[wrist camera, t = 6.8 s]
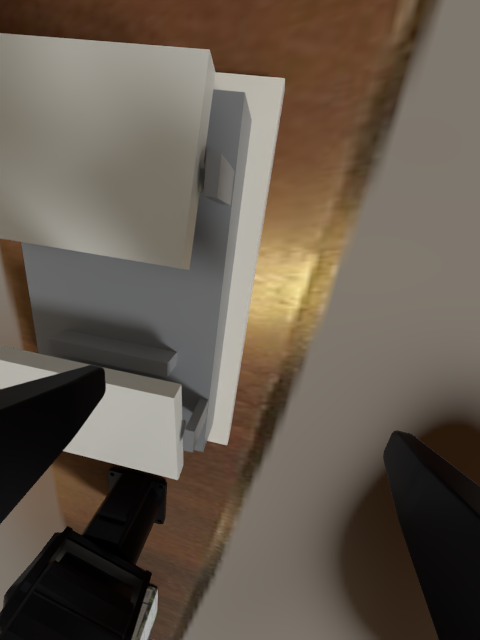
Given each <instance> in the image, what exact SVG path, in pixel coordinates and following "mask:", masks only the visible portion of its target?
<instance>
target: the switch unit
mask: <svg viewBox="0 0 480 640" xmlns="http://www.w3.org/2000/svg"><path fill="white" fill-rule="evenodd" d="M284 91H285V78H275V77H264V76H253V75H241V74H230V73H218V72H216V73H215V80H214V88H213V96H212V103H211V111H210V118H209V126H208V133H207V141H206V148H205V156H204V164H205V180H204V190H203V192H200V194H199V201H198V209H197V216H196V224H195V231H194V239H193V246H192V254H191V261H190V269H189V270H186V269H180V268H174V267H168V266H162V265H156V264H150V263H144V262H138V261H132V260H126V259H120V258H114V257H108V256H102V255H96V254H90V253H84V252H78V251H72V250H66V249H60V248H54V247H48V246H42V245H36V244H31V243H25V242H21V244H22V251H23V257H24V264H25V270H26V277H27V283H28V289H29V296H30V302H31V309H32V315H33V322H34V328H35V335H36V341H37V347H38V354H43V355H48V356H52V357H57V358H62V359H66V360H71V361H76V362H80V363H85V364H90V365H94V366H99V367H104V368H108V369H113V370H118V371H122V372H127V373H132V374H136V375H141V376H146V377H150V378H155V379H160V380H164V381H169V382H174V383H178V384H181V387H182V419H183V420H186V426H185V431H184V434H183V450H184V451H189V452H193V450H197V451H201V452H203V451H204V448H205V445H206V442H207V441H211V442H215V443H219V444H224V445H227V444H228V440H229V436H230V430H231V423H232V417H233V411H234V405H235V398H236V392H237V386H238V379H239V373H240V367H241V361H242V354H243V348H244V342H245V336H246V329H247V323H248V317H249V310H250V304H251V298H252V292H253V285H254V279H255V273H256V267H257V260H258V254H259V248H260V242H261V235H262V229H263V223H264V216H265V210H266V204H267V198H268V191H269V185H270V179H271V173H272V166H273V160H274V154H275V147H276V141H277V135H278V129H279V122H280V116H281V110H282V104H283V97H284Z"/></svg>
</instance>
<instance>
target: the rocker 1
mask: <svg viewBox="0 0 480 640" xmlns="http://www.w3.org/2000/svg"><path fill="white" fill-rule="evenodd" d="M215 73H216V72H215V68H214V65H213V61H212V57H211V53H210V50H208V49H195V48H182V47H170V46H157V45H144V44H132V43H119V42H106V41H93V40H81V39H68V38H55V37H43V36H30V35H17V34H4V33H0V238H1V239H7V240H13V241H19V242H25V243H31V244H36V245H42V246H48V247H54V248H60V249H66V250H72V251H78V252H84V253H90V254H96V255H102V256H108V257H114V258H120V259H126V260H132V261H138V262H144V263H150V264H156V265H162V266H168V267H174V268H180V269H186V270H189V269H190V261H191V254H192V246H193V239H194V231H195V224H196V216H197V209H198V201H199V194H200V192H203V190H204V180H205V164H204V156H205V148H206V141H207V133H208V126H209V118H210V111H211V103H212V96H213V88H214V80H215Z"/></svg>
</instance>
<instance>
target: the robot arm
mask: <svg viewBox="0 0 480 640" xmlns="http://www.w3.org/2000/svg"><path fill="white" fill-rule="evenodd" d="M105 391H106V381H105V370H104V368H102V367H99V366H94V365H88V366H85V367H81V368H77V369H74V370H70V371H66V372H63V373H59V374H55V375H51V376H48V377H44V378H40V379H37V380H33V381H29V382H26V383H22V384H18V385H14V386H11V387H7V388H3V389H0V523H2V521H3V520H4V519H5V518H6V517H7V516H8V514H9V513H10V512H11V511H12V510H13V508H14V507H15V506H16V505H17V504H18V503H19V502H20V500H21V499H22V498H23V497H24V496H25V495H26V493H27V492H28V491H29V490H30V489H31V488H32V486H33V485H34V484H35V483H36V482H37V481H38V479H39V478H40V477H41V476H42V475H43V474H44V472H45V471H46V470H47V469H48V468H49V467H50V465H51V464H52V463H53V462H54V461H55V460H56V458H57V457H58V456H59V455H60V454H61V453H62V451H63V450H64V449H65V448H66V447H67V446H68V444H69V443H70V442H71V441H72V439H73V438H74V437H75V436H76V434H77V433H78V432H79V430H80V429H81V427H82V426H83V425H84V423H85V422H86V420H87V419H88V418H89V416H90V415H91V413H92V412H93V410H94V409H95V408H96V406H97V405H98V403H99V402H100V401H101V399H102V398H103V396H104V394H105ZM383 457H384V463H385V467H386V472H387V475H388V480H389V484H390V488H391V492H392V496H393V501H394V505H395V509H396V513H397V517H398V520H399V523H400V526H401V529H402V532H403V535H404V538H405V541H406V544H407V547H408V550H409V553H410V556H411V559H412V562H413V565H414V568H415V571H416V574H417V577H418V579H419V583H420V585H421V588H422V591H423V594H424V597H425V600H426V603H427V606H428V609H429V612H430V615H431V618H432V621H433V624H434V627H435V630H436V633H437V635H438V639H439V640H480V486H478V485H477V484H476V483H474V482H473V481H472V480H471V479H469V478H468V477H467V476H465V475H464V474H463V473H461V472H460V471H459V470H458V469H456V468H455V467H454V466H452V465H451V464H450V463H449V462H447V461H446V460H445V459H443V458H442V457H441V456H439V455H438V454H437V453H436V452H434V451H433V450H432V449H430V448H429V447H428V446H426V445H425V444H423V442H421V441H420V440H419V439H417V438H416V437H415V436H413V435H412V434H410V433H406V432H402V431H394V432H393V433H392V435H391V437H390V439H389V441H388V443H387V446H386V448H385V450H384V456H383ZM108 484H109V494H108V495H107V497H106V498H105V500H104V501H103V503H102V504H101V506H100V507H99V509H98V510H97V512H96V513H95V515H94V516H93V518H92V519H91V521H90V522H89V524H88V525H87V527H86V528H85V530H84V531H83V533H82V534H81V535H80V534H78V533H76V532H74V531H73V529H72V528H70V527H68V526H67V527H66V529H65V530H64V531H63V532H62V533H55V534H54V535H53V536H52V538H51V539H50V540H49V542H48V543H47V544H46V546H45V547H44V548H43V550H42V551H41V552H40V553H39V554H38V556H37V557H36V558H35V559H34V561H33V562H32V563H31V564H30V565H29V566H28V567H27V569H26V570H25V571H24V572H23V573H22V574H21V576H20V577H19V578H18V579H17V580H16V581H15V582H14V584H13V585H12V586H11V587H10V588H9V590H8V591H7V592H6V594H5V596H4V602H3V603H4V604H3V609H2V611H1V612H0V640H131V639H132V636H133V633H134V630H135V627H136V623H137V620H138V617H139V614H140V610H141V607H142V604H143V601H144V597H145V594H146V591H147V588H148V584H149V581H150V578H151V575H152V573H151V572H150V571H148V570H146V571H145V570H143V569H141V568H139V567H138V566H136V563H137V560H138V558H139V556H140V553H141V551H142V549H143V547H144V544H145V542H146V540H147V537H148V535H149V533H150V531H151V528H152V526H153V524H154V523H157V524H163V523H164V520H165V512H166V494H167V483H166V481H164V480H161V479H157V478H153V477H149V476H145V475H141V474H137V473H133V472H129V471H126V470H122V469H118V468H111V469H110V470H109V471H108Z"/></svg>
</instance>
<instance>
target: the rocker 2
mask: <svg viewBox="0 0 480 640" xmlns="http://www.w3.org/2000/svg"><path fill="white" fill-rule="evenodd" d="M88 365H90V364H85V363H80V362H76V361H71V360H66V359H62V358H57V357H52V356H48V355H43V354H38V353H33V352H29V351H24V350H19V349H15V348H10V347H5V346H0V389H3V388H7V387H11V386H14V385H18V384H22V383H26V382H29V381H33V380H37V379H40V378H44V377H48V376H51V375H55V374H59V373H63V372H66V371H70V370H74V369H77V368H81V367H85V366H88ZM102 368H104V367H102ZM104 370H105V381H106V391H105V394H104V396H103V398H102V399H101V401H100V402H99V403H98V405H97V406H96V408H95V409H94V410H93V412H92V413H91V415H90V416H89V418H88V419H87V420H86V422H85V423H84V425H83V426H82V427H81V429H80V430H79V432H78V433H77V434H76V436H75V437H74V438H73V439H72V441H71V442H70V443H69V444H68V446H67V447H66V448H65V449H64V450H63V451H65V452H69V453H73V454H77V455H81V456H85V457H89V458H93V459H97V460H101V461H105V462H108V463H112V464H116V465H120V466H124V467H128V468H132V469H136V470H140V471H144V472H148V473H152V474H156V475H160V476H164V477H168V478H172V479H176V480H178V478H179V476H180V473H181V470H182V467H183V434H184V431H185V426H186V420H183V419H182V387H181V384H178V383H174V382H169V381H164V380H160V379H155V378H150V377H146V376H141V375H136V374H132V373H127V372H122V371H118V370H113V369H108V368H104Z"/></svg>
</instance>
